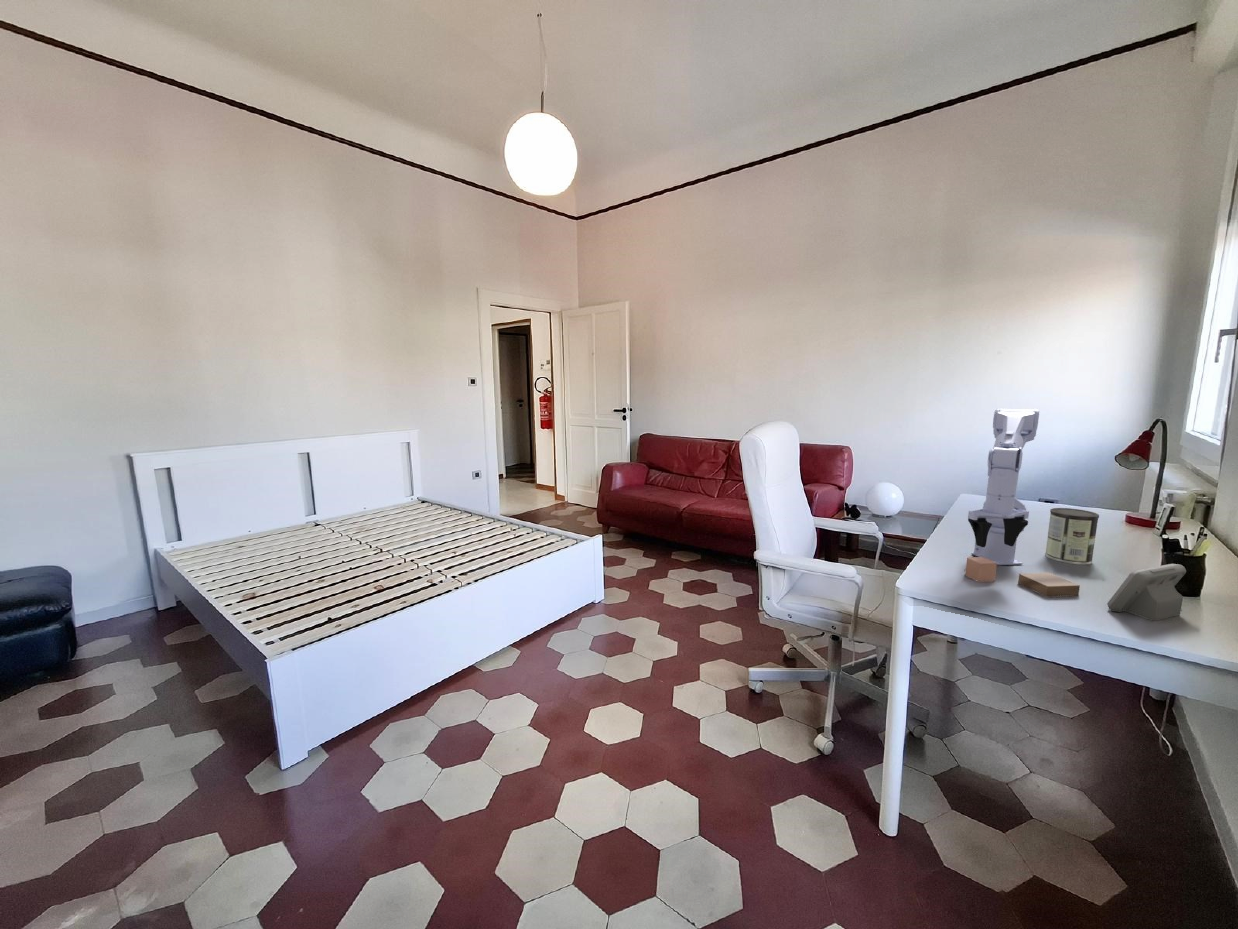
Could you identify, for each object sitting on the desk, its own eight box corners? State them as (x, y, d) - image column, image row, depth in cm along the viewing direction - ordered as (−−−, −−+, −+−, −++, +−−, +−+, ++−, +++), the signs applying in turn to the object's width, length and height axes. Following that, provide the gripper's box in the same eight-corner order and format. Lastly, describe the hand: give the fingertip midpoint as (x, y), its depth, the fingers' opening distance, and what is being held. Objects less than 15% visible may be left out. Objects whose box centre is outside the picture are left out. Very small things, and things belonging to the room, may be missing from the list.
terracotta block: (965, 575, 130) (967, 557, 129) (981, 574, 130) (983, 557, 129) (978, 581, 126) (980, 563, 125) (994, 581, 126) (996, 563, 125)
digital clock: (1153, 600, 114) (1160, 557, 112) (1201, 618, 105) (1210, 572, 103) (1090, 604, 112) (1097, 560, 111) (1135, 622, 104) (1142, 575, 102)
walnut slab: (1018, 584, 124) (1019, 573, 124) (1048, 583, 125) (1049, 572, 124) (1046, 598, 116) (1047, 586, 116) (1078, 597, 117) (1079, 585, 116)
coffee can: (1068, 552, 146) (1075, 507, 144) (1102, 564, 136) (1110, 516, 134) (1034, 552, 146) (1040, 507, 144) (1066, 565, 136) (1073, 517, 134)
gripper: (985, 498, 118) (979, 551, 121) (1042, 497, 119) (1035, 549, 121) (964, 492, 125) (958, 542, 127) (1017, 491, 126) (1011, 541, 128)
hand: (994, 545), depth 125 cm, fingers open, 7 cm apart
